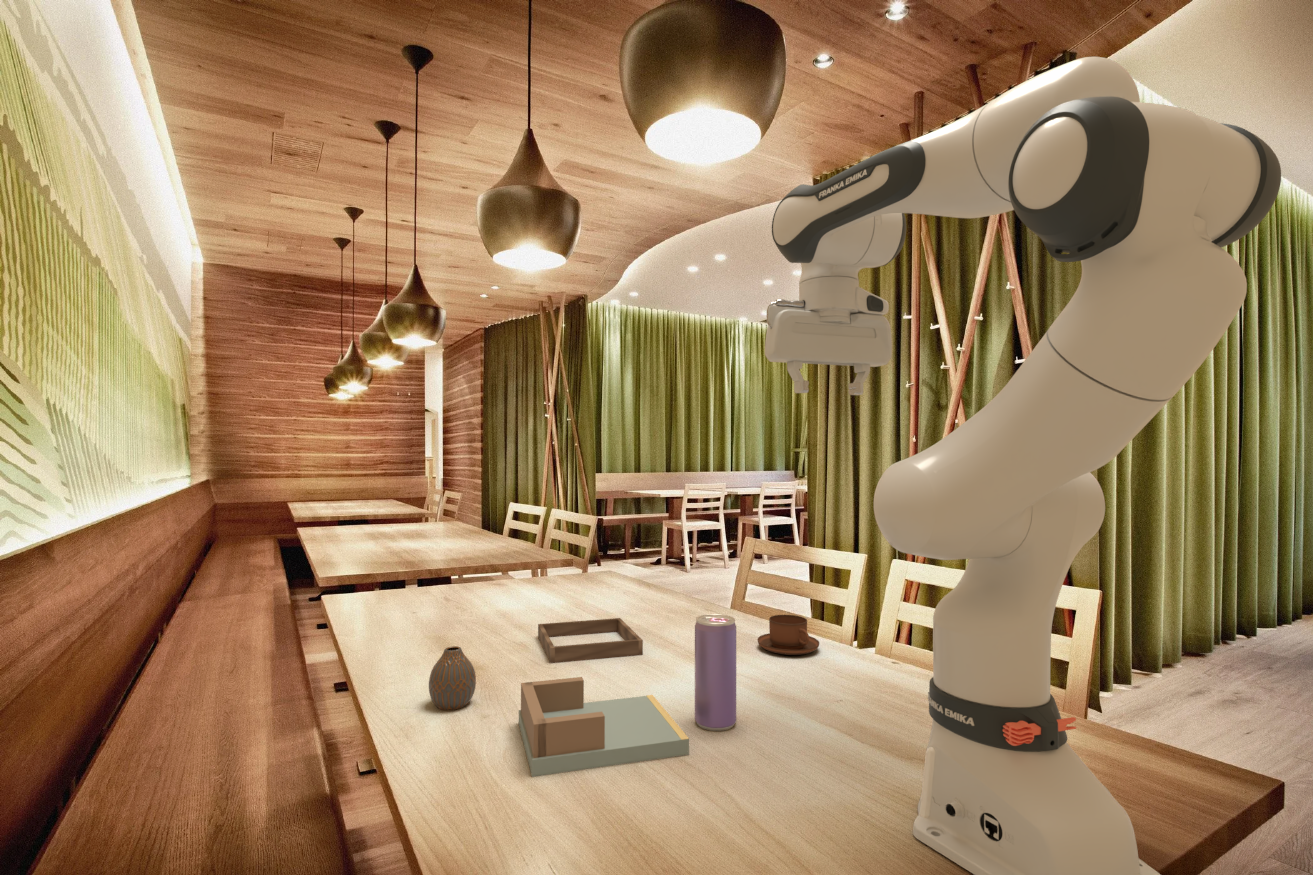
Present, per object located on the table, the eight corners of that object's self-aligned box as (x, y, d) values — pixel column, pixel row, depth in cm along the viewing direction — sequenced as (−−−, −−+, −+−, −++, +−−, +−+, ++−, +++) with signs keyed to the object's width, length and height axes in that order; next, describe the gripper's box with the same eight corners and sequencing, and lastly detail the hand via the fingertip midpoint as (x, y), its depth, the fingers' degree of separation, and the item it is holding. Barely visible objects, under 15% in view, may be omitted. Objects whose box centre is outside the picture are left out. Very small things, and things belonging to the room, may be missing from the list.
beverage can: (734, 734, 91) (734, 624, 91) (691, 730, 92) (691, 622, 92) (737, 717, 97) (737, 614, 97) (697, 713, 98) (697, 612, 98)
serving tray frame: (642, 655, 126) (642, 640, 126) (550, 664, 120) (550, 647, 120) (619, 631, 142) (620, 617, 143) (538, 638, 137) (538, 623, 137)
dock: (688, 754, 85) (689, 707, 85) (531, 776, 79) (532, 726, 79) (652, 708, 100) (652, 668, 100) (518, 724, 94) (518, 681, 94)
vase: (424, 716, 97) (425, 656, 97) (432, 698, 104) (433, 642, 104) (472, 713, 98) (473, 654, 98) (478, 696, 105) (478, 640, 105)
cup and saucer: (830, 650, 130) (830, 618, 130) (798, 664, 121) (798, 630, 122) (779, 638, 138) (779, 608, 139) (745, 650, 130) (745, 619, 130)
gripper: (777, 293, 94) (777, 389, 93) (898, 303, 100) (898, 394, 100) (757, 302, 100) (757, 393, 100) (872, 311, 106) (873, 397, 106)
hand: (829, 393), depth 100 cm, fingers open, 8 cm apart
